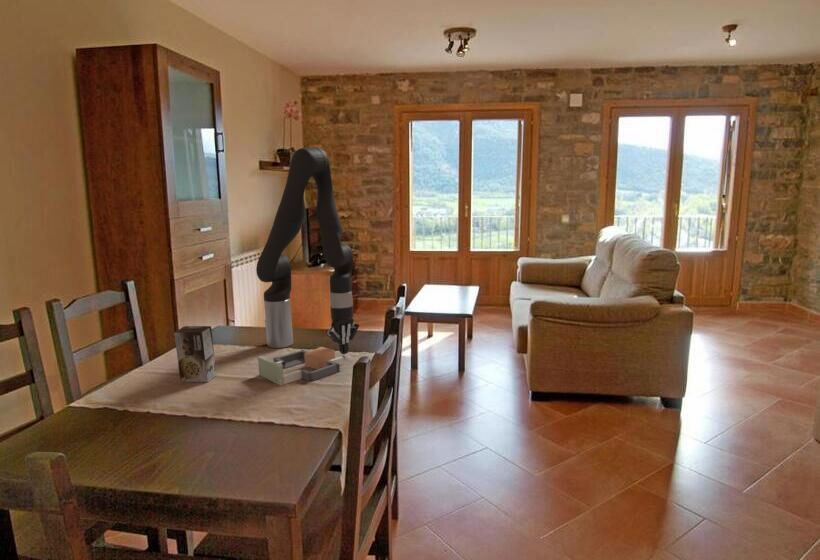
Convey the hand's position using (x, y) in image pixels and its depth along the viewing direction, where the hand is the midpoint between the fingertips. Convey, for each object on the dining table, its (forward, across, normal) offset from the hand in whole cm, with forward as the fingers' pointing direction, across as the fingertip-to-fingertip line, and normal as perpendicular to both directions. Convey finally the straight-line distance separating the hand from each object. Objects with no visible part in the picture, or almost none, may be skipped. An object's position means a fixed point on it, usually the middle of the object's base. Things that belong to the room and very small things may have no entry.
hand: (344, 353), depth 182 cm
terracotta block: (+1, +10, 0) cm, 10 cm away
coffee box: (+1, +43, -18) cm, 47 cm away
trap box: (+1, +16, 0) cm, 16 cm away
